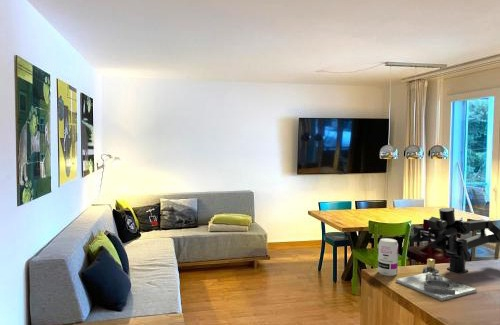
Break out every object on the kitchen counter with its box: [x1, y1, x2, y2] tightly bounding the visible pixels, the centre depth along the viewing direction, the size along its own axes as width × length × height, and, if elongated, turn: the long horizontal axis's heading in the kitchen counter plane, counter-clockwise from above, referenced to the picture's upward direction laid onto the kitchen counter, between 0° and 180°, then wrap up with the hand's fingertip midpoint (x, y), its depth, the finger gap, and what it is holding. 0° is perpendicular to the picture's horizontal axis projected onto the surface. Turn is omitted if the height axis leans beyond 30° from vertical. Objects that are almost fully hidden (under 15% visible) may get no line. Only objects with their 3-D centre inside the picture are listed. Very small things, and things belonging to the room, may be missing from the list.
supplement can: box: [377, 237, 399, 277], centre depth 177 cm, size 8×8×15 cm
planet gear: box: [422, 258, 440, 274], centre depth 178 cm, size 6×6×6 cm
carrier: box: [395, 272, 478, 302], centre depth 161 cm, size 20×22×4 cm
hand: (418, 243), depth 170 cm, fingers open, 9 cm apart
